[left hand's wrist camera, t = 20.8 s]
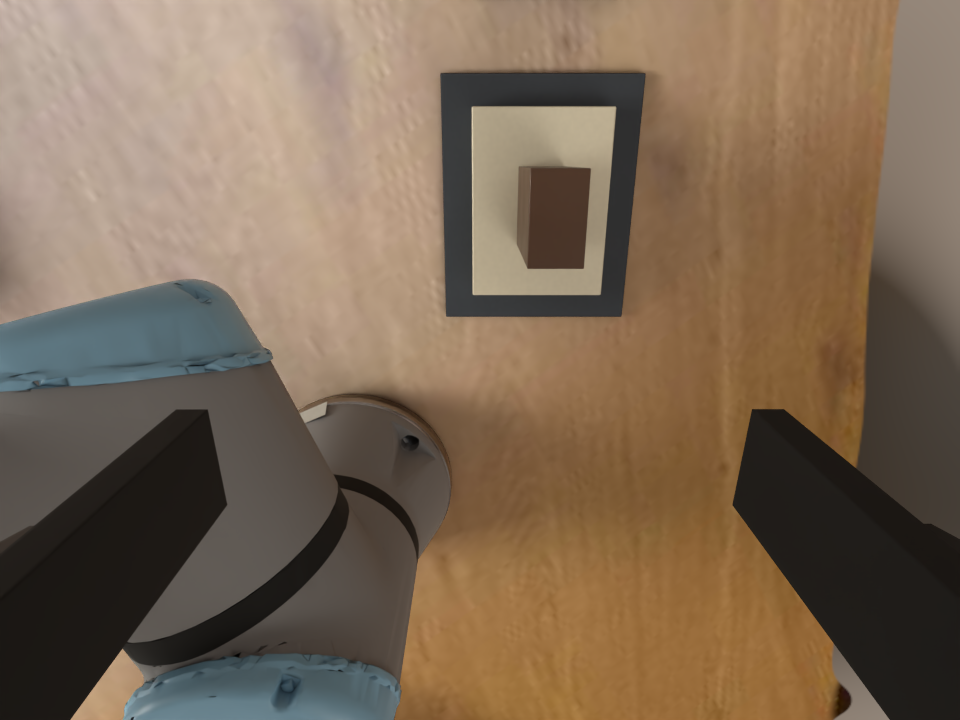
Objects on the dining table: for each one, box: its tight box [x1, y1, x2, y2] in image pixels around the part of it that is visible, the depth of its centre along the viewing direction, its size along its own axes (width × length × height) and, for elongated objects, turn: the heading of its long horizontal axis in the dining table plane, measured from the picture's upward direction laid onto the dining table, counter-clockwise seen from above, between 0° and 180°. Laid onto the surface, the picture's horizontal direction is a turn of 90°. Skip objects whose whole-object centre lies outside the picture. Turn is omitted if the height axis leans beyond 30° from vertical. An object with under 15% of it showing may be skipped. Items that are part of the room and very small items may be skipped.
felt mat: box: [441, 73, 645, 317], centre depth 36 cm, size 16×13×1 cm
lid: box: [472, 106, 616, 295], centre depth 31 cm, size 12×9×10 cm
